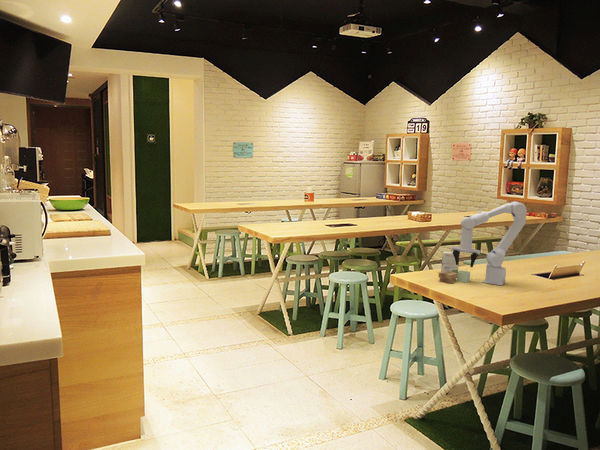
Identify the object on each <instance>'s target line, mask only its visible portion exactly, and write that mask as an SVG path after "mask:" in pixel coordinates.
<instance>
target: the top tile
mask: <svg viewBox="0 0 600 450" xmlns="http://www.w3.org/2000/svg"><path fill="white" fill-rule="evenodd" d="M457 276H458V273H454V272H449V271H443V272H441V271H440V272H438V276H437V278H439V279H440V278H444V279H448V280H452V279H456V280H457Z"/></svg>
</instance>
